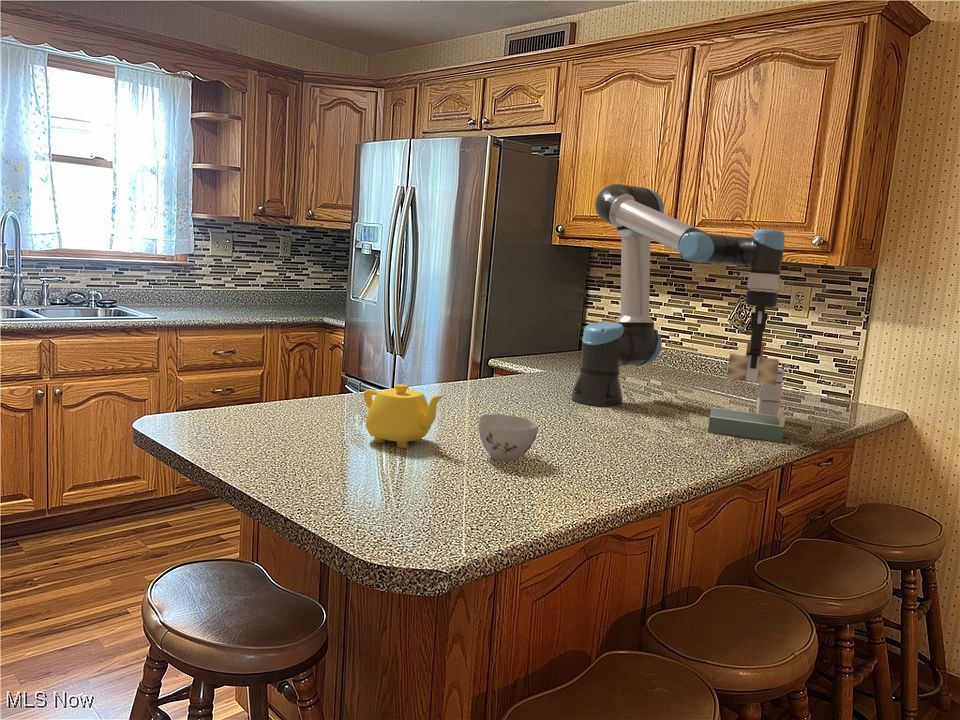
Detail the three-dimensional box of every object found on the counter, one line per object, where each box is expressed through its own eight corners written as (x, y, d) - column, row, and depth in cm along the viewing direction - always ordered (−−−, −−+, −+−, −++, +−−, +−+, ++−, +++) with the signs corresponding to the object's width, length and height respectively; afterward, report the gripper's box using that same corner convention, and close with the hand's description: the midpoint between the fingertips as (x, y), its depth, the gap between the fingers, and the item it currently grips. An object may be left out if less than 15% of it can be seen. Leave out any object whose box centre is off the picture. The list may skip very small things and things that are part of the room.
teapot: (424, 457, 153) (428, 397, 151) (344, 439, 162) (347, 382, 160) (456, 444, 165) (460, 388, 163) (379, 428, 174) (382, 375, 172)
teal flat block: (707, 432, 196) (710, 409, 195) (709, 421, 209) (712, 400, 208) (781, 442, 190) (785, 419, 189) (779, 431, 203) (782, 409, 203)
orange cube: (745, 357, 195) (747, 342, 195) (745, 356, 199) (747, 341, 199) (762, 359, 194) (764, 344, 194) (761, 357, 198) (763, 342, 197)
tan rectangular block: (726, 379, 197) (729, 356, 196) (727, 376, 202) (730, 353, 201) (775, 385, 193) (779, 362, 192) (774, 381, 199) (778, 359, 198)
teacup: (518, 470, 148) (521, 431, 147) (464, 458, 154) (466, 420, 153) (550, 455, 161) (553, 419, 160) (498, 444, 167) (501, 409, 166)
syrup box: (778, 419, 220) (785, 370, 218) (757, 416, 221) (764, 368, 219) (775, 415, 225) (781, 367, 223) (754, 413, 227) (760, 365, 224)
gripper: (779, 293, 184) (767, 386, 187) (776, 290, 202) (765, 375, 205) (747, 290, 186) (735, 382, 190) (746, 288, 204) (736, 372, 208)
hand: (751, 378), depth 198 cm, fingers closed on tan rectangular block, 6 cm apart
